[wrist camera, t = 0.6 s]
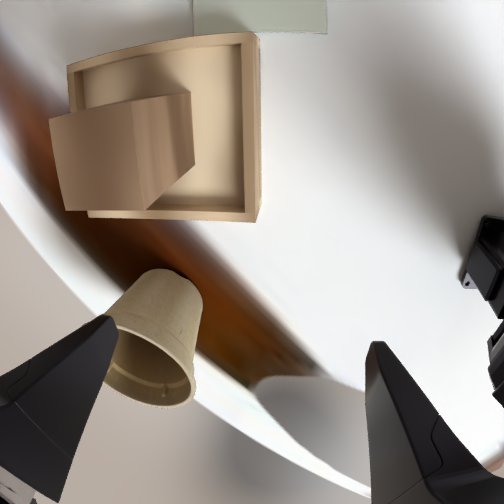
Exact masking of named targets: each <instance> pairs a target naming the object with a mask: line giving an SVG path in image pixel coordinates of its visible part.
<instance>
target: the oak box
mask: <svg viewBox="0 0 504 504" xmlns="http://www.w3.org/2000/svg"><path fill="white" fill-rule="evenodd" d="M67 80H68V93H69V104H70V113H73V112H76V111H80V110H84V109H88V108H92V107H96V106H100V105H105V104H109V103H114V102H119V101H123V100H129V99H136V98H143V97H150V96H158V95H166V94H175V93H186V92H191V105H192V123H193V139H194V154H195V166H193V167H192V168H191V169H190V170H189V171H188V172H186V173H185V174H184V175H183V176H182V177H181V178H180V179H179V180H177V181H176V182H175V183H174V184H173V185H172V186H171V187H170V188H168V189H167V190H166V191H165V192H164V193H163V194H162V195H161V196H160V197H159V198H158V199H157V200H155V201H154V202H153V203H152V204H151V205H150V206H149V207H148V208H147V209H146V210H145V211H87V212H88V217H89V218H140V219H176V220H205V221H229V222H251V223H255V222H256V219H257V216H258V213H259V209H260V206H261V94H260V39H259V38H258V37H257V36H256V35H255V34H254V33H253V32H240V33H224V34H213V35H203V36H194V37H187V38H180V39H173V40H167V41H161V42H155V43H150V44H145V45H140V46H136V47H131V48H127V49H123V50H118V51H114V52H111V53H107V54H103V55H100V56H96V57H93V58H89V59H86V60H83V61H80V62H76V63H73V64H70V65H67Z"/></svg>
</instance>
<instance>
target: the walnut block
mask: <svg viewBox="0 0 504 504" xmlns="http://www.w3.org/2000/svg"><path fill="white" fill-rule="evenodd" d="M49 125H50V133H51V140H52V146H53V152H54V158H55V163H56V169H57V174H58V179H59V183H60V188H61V192H62V197H63V201H64V205H65V209H66V211H145V210H146V209H147V208H148V207H149V206H150V205H151V204H152V203H153V202H154V201H155V200H157V199H158V198H159V197H160V196H161V195H162V194H163V193H164V192H165V191H166V190H167V189H168V188H170V187H171V186H172V185H173V184H174V183H175V182H176V181H177V180H179V179H180V178H181V177H182V176H183V175H184V174H185V173H186V172H188V171H189V170H190V169H191V168H192V167H193V166H195V154H194V139H193V123H192V105H191V92H186V93H175V94H166V95H158V96H150V97H143V98H136V99H129V100H123V101H119V102H114V103H109V104H105V105H100V106H96V107H92V108H88V109H84V110H80V111H76V112H73V113H69V114H66V115H62V116H59V117H55V118H52V119H49Z"/></svg>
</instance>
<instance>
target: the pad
mask: <svg viewBox="0 0 504 504" xmlns="http://www.w3.org/2000/svg"><path fill="white" fill-rule="evenodd" d="M193 31H194V36H203V35H213V34H224V33H240V32H301V33H320V34H327V4H326V0H193Z"/></svg>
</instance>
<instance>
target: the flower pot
mask: <svg viewBox="0 0 504 504" xmlns="http://www.w3.org/2000/svg"><path fill="white" fill-rule="evenodd" d="M202 308H203V304H202V298H201V295H200V293H199V291H198V290H197V288H196V287H195V286H194V284H193V283H192V282H191V281H190V280H188V279H185V278H183V277H181V276H179V275H178V274H176V273H175V272H174V271H171V270H167V269H153V270H150V271H147V272H145V273H144V274H143V275H141V276H140V278H139V279H138V280H137V281H136V282H135V283H134V284H133V285H132V286H131V287H130V288H129V289H128V290H127V291H126V292H125V293H124V294H123V295H122V296H121V297H120V298H119V299H118V300H117V301H116V302H115V303H114V304H113V305H112V306H111V307H110V308H109V309H108V310H107V311H106V312H105V313H104V315H109V316H112V317H113V319H114V321H115V324H116V326H117V329H118V332H119V338H118V341H117V344H116V347H115V350H114V353H113V356H112V359H111V363H110V366H109V369H108V371H107V374H106V376H105V379H104V381H103V384H105V385H106V386H107V387H109V388H110V389H112V390H113V391H115V392H117V393H118V394H120V395H122V396H124V397H126V398H128V399H130V400H133V401H135V402H138V403H141V404H144V405H147V406H152V407H157V408H174V407H180V406H182V405H185V404H187V403H189V402H190V401H191V400H192V399H193V397H194V395H195V392H196V381H195V378H194V365H193V357H194V351H195V345H196V339H197V334H198V328H199V323H200V318H201V313H202ZM102 315H103V314H102ZM99 316H100V315H99ZM96 318H97V317H96ZM88 323H89V322H88ZM85 324H87V323H85ZM85 324H84V325H85ZM84 325H82V326H84ZM82 326H81V327H82Z"/></svg>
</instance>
